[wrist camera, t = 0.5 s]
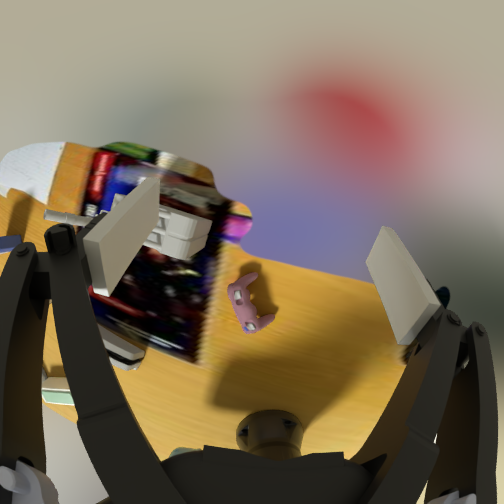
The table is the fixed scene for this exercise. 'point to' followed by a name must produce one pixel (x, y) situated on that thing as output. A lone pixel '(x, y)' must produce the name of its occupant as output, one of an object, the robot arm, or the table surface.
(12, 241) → the walkman
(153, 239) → the fuel canister
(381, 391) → the table surface
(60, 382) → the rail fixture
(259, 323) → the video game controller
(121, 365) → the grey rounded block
